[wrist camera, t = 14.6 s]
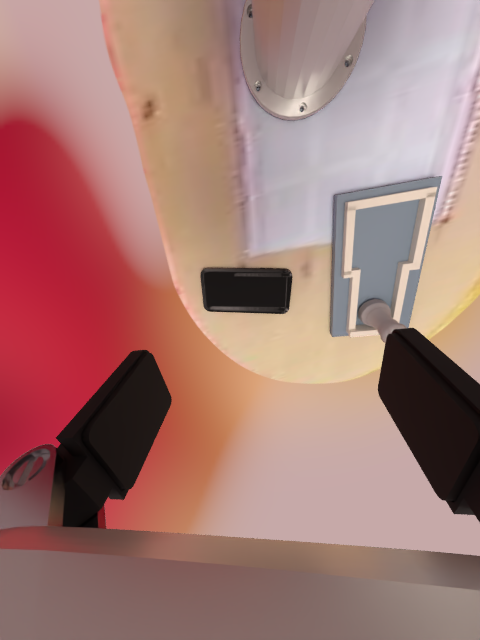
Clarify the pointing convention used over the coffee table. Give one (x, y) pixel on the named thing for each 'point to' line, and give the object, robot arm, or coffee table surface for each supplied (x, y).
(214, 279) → the phone
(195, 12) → the coffee table surface
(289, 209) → the coffee table surface
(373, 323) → the rook chess piece
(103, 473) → the robot arm
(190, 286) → the coffee table surface
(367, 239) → the keyhole board
